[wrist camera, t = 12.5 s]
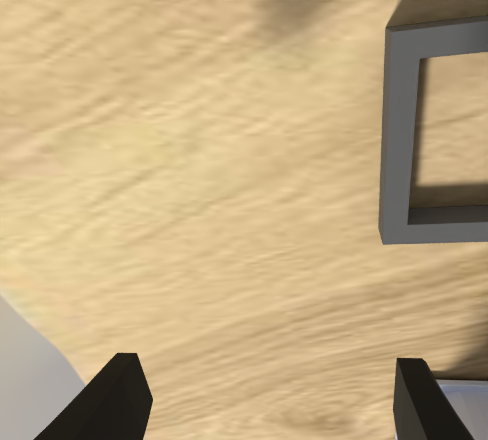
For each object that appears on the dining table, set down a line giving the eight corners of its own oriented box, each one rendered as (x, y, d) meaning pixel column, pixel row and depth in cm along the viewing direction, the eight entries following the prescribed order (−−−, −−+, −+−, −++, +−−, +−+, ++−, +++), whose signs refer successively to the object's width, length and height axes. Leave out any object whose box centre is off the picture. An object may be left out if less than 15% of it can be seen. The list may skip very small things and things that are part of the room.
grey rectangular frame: (561, 221, 19) (579, 239, 18) (378, 227, 20) (382, 244, 19) (624, -1, 15) (653, 1, 13) (385, 27, 16) (391, 32, 15)
